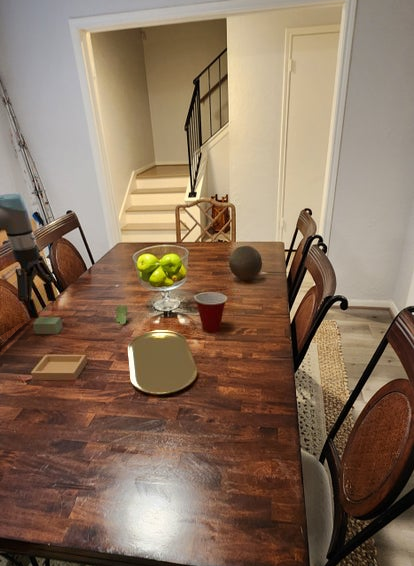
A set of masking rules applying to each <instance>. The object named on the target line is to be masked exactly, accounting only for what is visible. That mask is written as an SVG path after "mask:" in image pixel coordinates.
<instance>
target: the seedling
mask: <svg viewBox="0 0 414 566" xmlns="http://www.w3.org/2000/svg"><path fill="white" fill-rule="evenodd" d="M115 311H116V312H117V313H116V315H115V321H116V323H119V324H120V325H121V326H122V325H125V324H126V321H127V317H129V315H128V308H127V306H126V304H125V305H124V304H123V306H122V305H120V304H117V305H116V306H115Z"/></svg>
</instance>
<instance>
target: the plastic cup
mask: <svg viewBox="0 0 414 566" xmlns="http://www.w3.org/2000/svg"><path fill="white" fill-rule="evenodd" d="M194 300H195V303H196V306H197V311H198V314H199V319H200V323H201V326H202V329H203V331H204V332H205V333H209V334H213V333H217V332H219V331H220V329H221V325H222V320H223V314H224V309H225V305H226V303H227V301H228V297H227V295H225V294H224V293H221V292H216V291H215V292H214V291H205V292H200V293H197V294H196V295H194Z"/></svg>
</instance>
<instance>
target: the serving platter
mask: <svg viewBox="0 0 414 566" xmlns="http://www.w3.org/2000/svg"><path fill="white" fill-rule="evenodd" d="M127 356H128V357H127V358H128V367H129V379H130V383H131V384H132V386H133V387H134V388H135V389H137V390H138V391H140V392H142V393H145V394H147V395H148V394H149V395H153V396H154V395H155V396H165V395H171V394H174V393H177V392H178V393H179V392H180V391H183V390H185V389H186V388H188V387H189V386H191V385H192V384H193V382H194V381H195V380H196V379H197V377H198V373H199V372H198V367H197V363H196V361H195V359H194V356H193V353H192V351H191V348H190V345H189V343H188V340H187V338H186V337H185V336H184V335H183V334H182V333H180V332H177V331H173V330H167V329H164V330H163V329H161V330H158V329H157V330H150V331H147V332H144V333H141V334H139V335H137V336H135V337H134V338H132V339H131V340H130V342H129V343H128V345H127Z"/></svg>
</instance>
